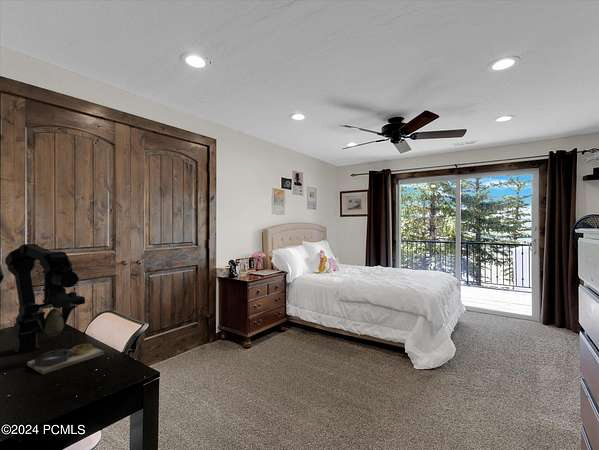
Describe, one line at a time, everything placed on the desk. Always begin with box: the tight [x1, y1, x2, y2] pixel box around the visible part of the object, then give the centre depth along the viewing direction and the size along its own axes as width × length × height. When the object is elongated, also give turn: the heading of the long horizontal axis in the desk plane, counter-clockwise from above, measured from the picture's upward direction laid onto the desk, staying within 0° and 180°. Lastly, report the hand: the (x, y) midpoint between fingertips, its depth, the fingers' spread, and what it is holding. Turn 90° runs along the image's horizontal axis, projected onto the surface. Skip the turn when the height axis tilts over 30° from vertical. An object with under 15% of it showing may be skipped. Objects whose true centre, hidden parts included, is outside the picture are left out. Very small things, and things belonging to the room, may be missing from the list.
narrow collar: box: [71, 342, 94, 355], centre depth 116 cm, size 6×6×2 cm
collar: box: [34, 348, 72, 367], centre depth 108 cm, size 10×10×2 cm
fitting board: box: [26, 346, 105, 375], centre depth 111 cm, size 13×19×1 cm
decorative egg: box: [43, 308, 65, 337], centre depth 113 cm, size 6×6×10 cm
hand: (53, 327), depth 113 cm, fingers closed on decorative egg, 6 cm apart
